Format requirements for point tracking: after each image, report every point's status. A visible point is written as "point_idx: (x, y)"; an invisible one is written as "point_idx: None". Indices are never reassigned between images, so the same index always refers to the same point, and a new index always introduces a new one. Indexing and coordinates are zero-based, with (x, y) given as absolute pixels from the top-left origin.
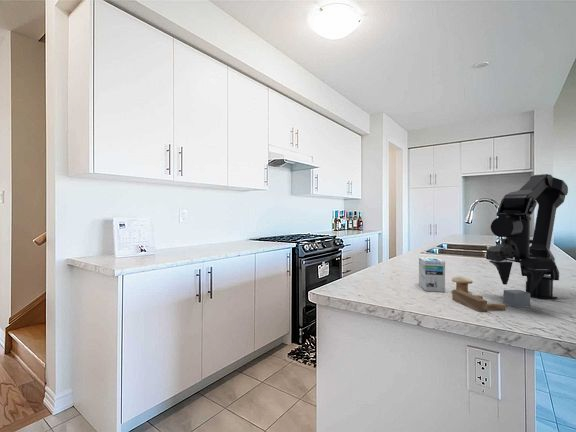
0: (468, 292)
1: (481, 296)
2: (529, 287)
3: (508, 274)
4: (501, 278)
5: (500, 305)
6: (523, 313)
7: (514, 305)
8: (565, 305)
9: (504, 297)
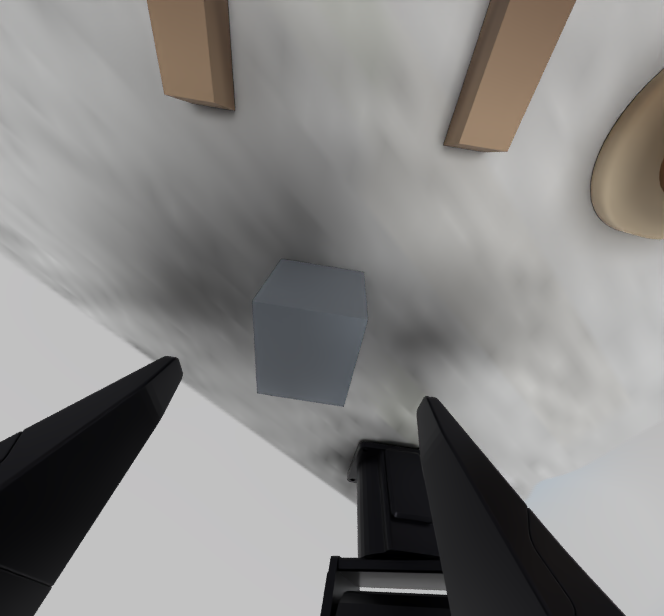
0: (653, 192)
1: (464, 124)
2: (118, 380)
3: (439, 525)
4: (464, 443)
5: (152, 19)
6: (146, 186)
7: (280, 265)
8: (281, 440)
9: (355, 287)
